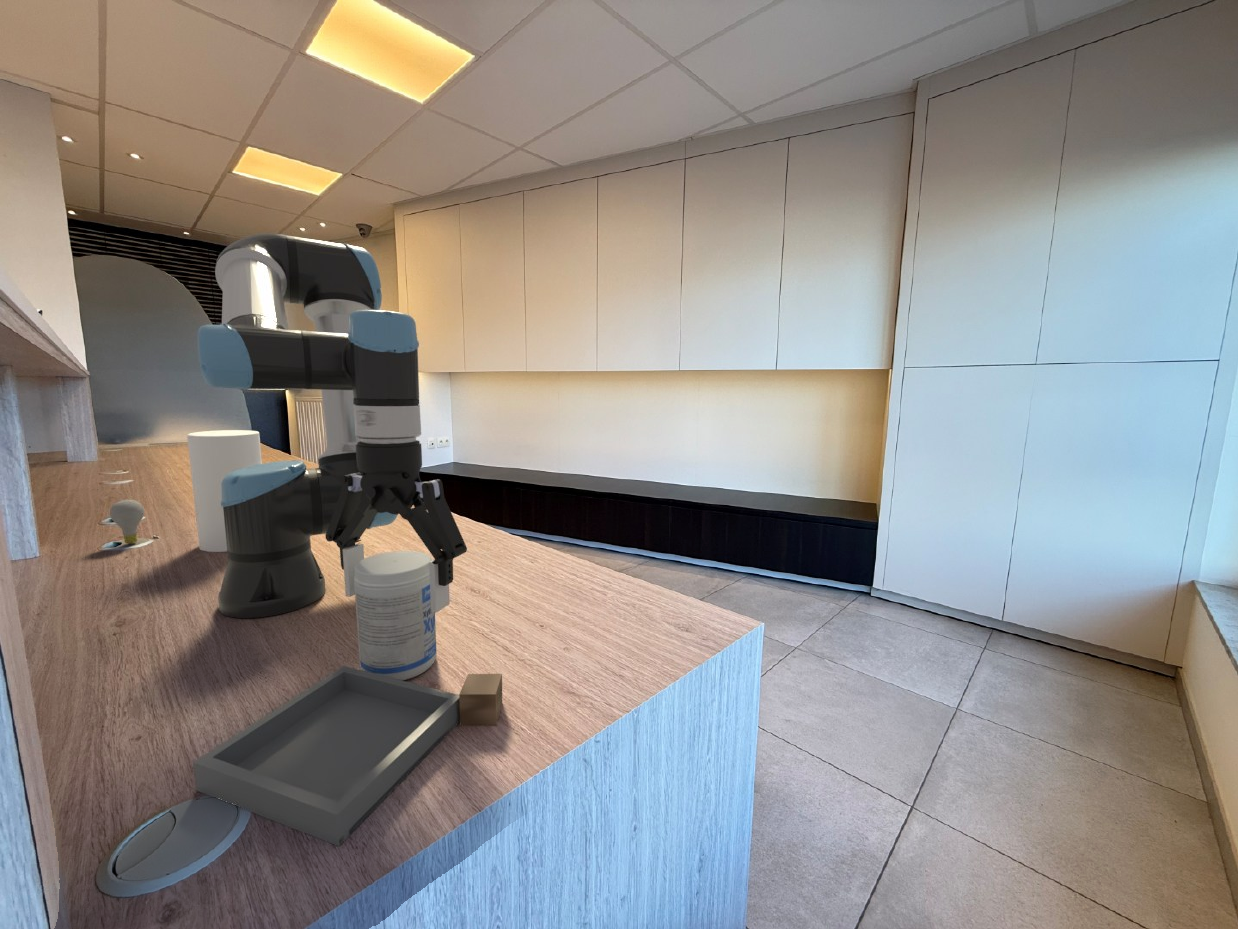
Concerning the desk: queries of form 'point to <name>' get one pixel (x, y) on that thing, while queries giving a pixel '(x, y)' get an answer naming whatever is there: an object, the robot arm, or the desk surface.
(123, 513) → the light bulb
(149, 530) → the desk surface
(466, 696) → the walnut block
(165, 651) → the desk surface
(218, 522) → the cylinder
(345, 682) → the tray
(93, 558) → the desk surface
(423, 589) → the supplement tub
